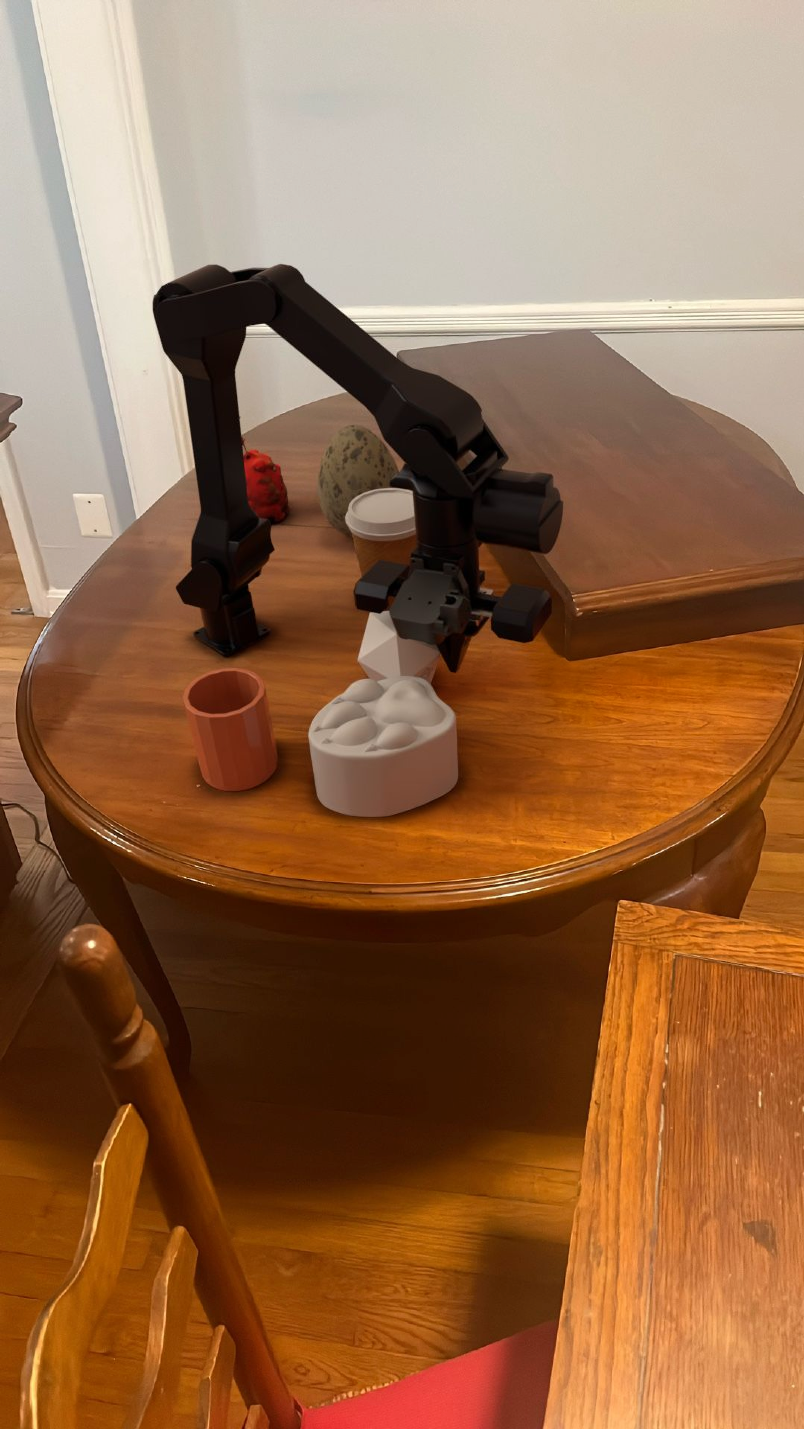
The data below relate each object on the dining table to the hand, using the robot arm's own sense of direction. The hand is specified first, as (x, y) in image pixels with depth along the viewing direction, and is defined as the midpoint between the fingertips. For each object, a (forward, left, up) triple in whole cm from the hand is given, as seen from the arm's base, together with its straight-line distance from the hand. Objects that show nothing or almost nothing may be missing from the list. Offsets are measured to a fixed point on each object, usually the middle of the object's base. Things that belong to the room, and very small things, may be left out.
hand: (454, 670), depth 101 cm
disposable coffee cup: (-19, +9, -3) cm, 21 cm away
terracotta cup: (-8, -22, -3) cm, 24 cm away
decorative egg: (-33, +17, -3) cm, 37 cm away
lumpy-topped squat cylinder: (+4, -14, -3) cm, 15 cm away
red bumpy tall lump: (-48, +12, -3) cm, 50 cm away
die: (-6, -2, -3) cm, 7 cm away
